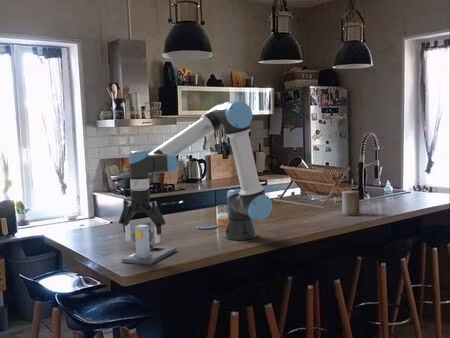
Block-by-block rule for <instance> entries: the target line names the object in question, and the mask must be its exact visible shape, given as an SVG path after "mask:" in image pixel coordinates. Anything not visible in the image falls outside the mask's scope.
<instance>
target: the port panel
mask: <svg viewBox="0 0 450 338" xmlns="http://www.w3.org/2000/svg"><path fill="white" fill-rule="evenodd" d="M175 252H177V247H174V246H172V247H171V246H159V245H158V246H157V245H150V256H149V257H147V258H136V251H135V252H133V253H131V254H129V255H127V256H124V257H123V258H121V263H124V264H135V265H137V264H138V265H149V266H151V265H152V264H153V265H154V264H155V263H156V262H157V263H158V261H160V260H162V259H164V258H166V257H168V256H170V255H172V254H174V253H175Z"/></svg>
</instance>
